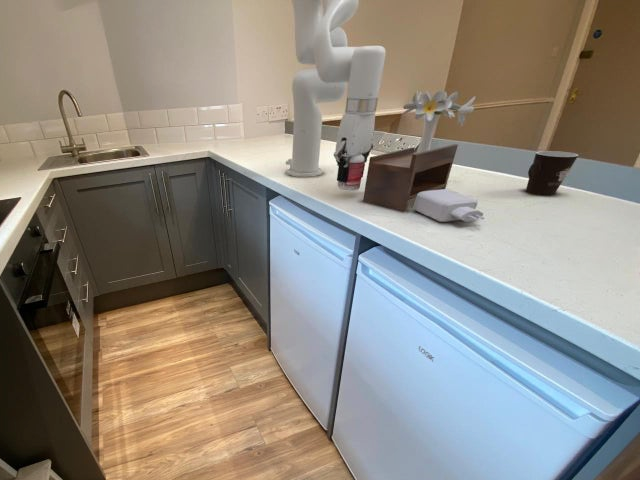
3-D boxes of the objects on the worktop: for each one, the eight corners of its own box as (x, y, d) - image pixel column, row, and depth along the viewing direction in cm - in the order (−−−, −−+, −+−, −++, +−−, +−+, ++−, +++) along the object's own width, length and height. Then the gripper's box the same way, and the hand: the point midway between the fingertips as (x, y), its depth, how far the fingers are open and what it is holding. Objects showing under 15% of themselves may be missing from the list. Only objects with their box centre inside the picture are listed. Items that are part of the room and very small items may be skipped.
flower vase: (457, 185, 102) (487, 88, 89) (396, 187, 103) (417, 91, 89) (436, 176, 113) (460, 88, 100) (381, 177, 114) (397, 90, 100)
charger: (457, 232, 72) (412, 211, 84) (494, 227, 73) (444, 207, 86) (464, 210, 69) (417, 191, 82) (502, 205, 71) (450, 188, 83)
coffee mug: (546, 188, 97) (563, 150, 91) (567, 196, 90) (587, 156, 84) (502, 188, 98) (516, 151, 93) (520, 197, 91) (536, 157, 85)
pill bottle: (363, 187, 97) (371, 146, 91) (352, 192, 94) (359, 149, 87) (344, 183, 101) (350, 143, 95) (333, 188, 97) (338, 147, 91)
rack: (362, 201, 92) (371, 149, 85) (403, 188, 102) (413, 140, 95) (403, 211, 84) (416, 154, 77) (443, 195, 94) (458, 144, 87)
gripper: (368, 103, 92) (357, 171, 103) (326, 108, 84) (318, 182, 94) (393, 104, 87) (379, 176, 98) (351, 110, 79) (340, 188, 89)
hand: (349, 178), depth 96 cm, fingers closed on pill bottle, 6 cm apart
